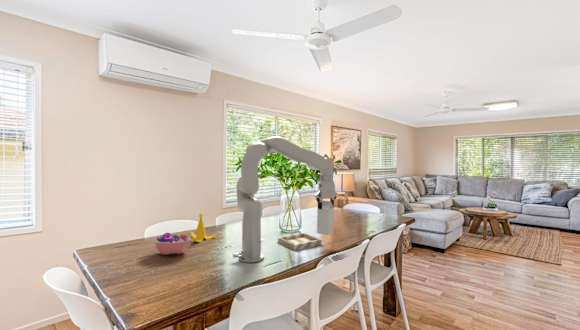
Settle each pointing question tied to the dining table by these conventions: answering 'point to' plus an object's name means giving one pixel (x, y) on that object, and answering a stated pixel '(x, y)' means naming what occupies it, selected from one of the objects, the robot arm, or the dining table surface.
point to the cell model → (172, 243)
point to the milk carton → (325, 218)
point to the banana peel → (201, 232)
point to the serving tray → (299, 241)
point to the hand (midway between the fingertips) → (325, 208)
